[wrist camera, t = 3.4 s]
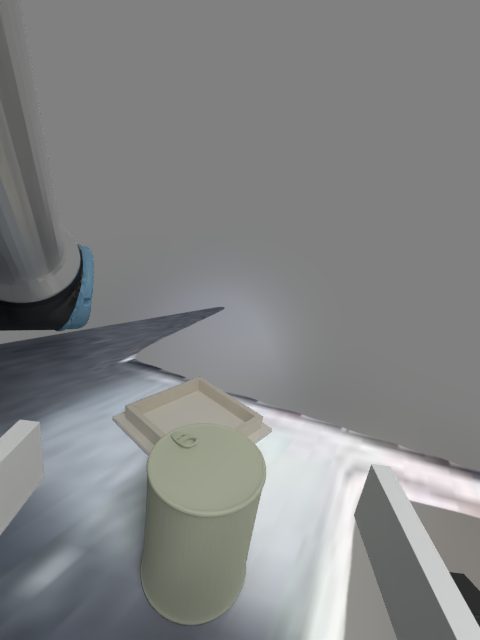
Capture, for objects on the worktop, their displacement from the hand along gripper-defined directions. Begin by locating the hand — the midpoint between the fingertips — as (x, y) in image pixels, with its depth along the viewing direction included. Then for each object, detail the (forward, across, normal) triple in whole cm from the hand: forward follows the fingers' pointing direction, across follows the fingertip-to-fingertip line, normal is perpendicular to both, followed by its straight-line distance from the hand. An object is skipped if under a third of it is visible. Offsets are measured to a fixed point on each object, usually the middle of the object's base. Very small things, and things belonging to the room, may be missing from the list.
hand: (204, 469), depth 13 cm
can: (+10, 0, -20) cm, 22 cm away
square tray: (+28, -3, -20) cm, 34 cm away
